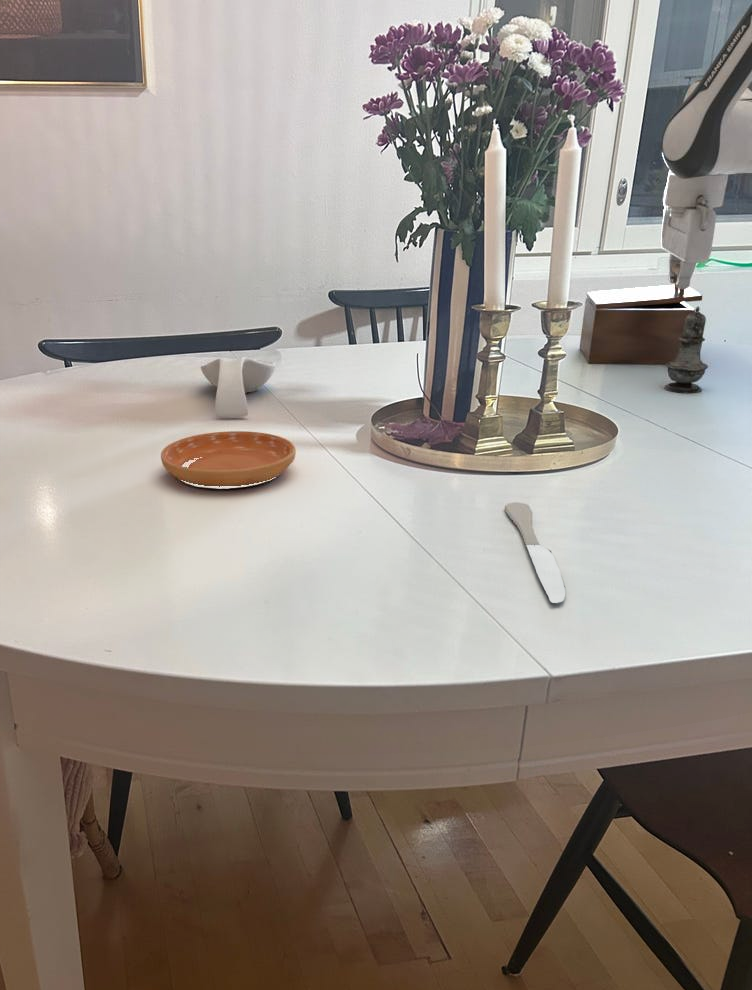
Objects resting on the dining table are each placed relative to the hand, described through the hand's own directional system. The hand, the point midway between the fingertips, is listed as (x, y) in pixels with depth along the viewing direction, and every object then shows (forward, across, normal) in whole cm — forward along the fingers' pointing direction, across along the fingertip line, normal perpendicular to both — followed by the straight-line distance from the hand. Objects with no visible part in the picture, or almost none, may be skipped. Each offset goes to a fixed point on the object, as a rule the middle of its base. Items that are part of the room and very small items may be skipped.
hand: (677, 285), depth 156 cm
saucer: (+12, -69, +63) cm, 94 cm away
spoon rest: (+12, -34, +69) cm, 78 cm away
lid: (+2, 0, +5) cm, 6 cm away
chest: (+12, 0, +6) cm, 13 cm away
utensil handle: (+12, -89, +29) cm, 94 cm away
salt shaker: (+12, -23, +2) cm, 26 cm away
